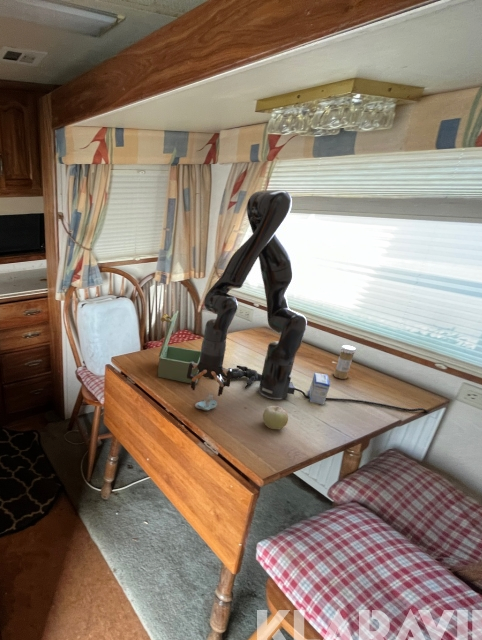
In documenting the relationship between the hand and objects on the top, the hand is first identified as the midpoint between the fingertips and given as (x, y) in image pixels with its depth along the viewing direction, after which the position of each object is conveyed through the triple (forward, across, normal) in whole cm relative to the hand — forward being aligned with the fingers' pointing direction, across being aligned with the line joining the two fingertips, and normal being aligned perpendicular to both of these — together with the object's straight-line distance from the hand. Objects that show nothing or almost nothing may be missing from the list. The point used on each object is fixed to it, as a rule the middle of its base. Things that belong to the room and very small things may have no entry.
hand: (206, 392), depth 126 cm
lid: (-11, -19, +22) cm, 31 cm away
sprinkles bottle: (+6, +48, +46) cm, 67 cm away
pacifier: (+7, 0, 0) cm, 7 cm away
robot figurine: (+6, +9, +27) cm, 29 cm away
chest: (+6, -13, +22) cm, 26 cm away
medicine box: (+6, +37, +23) cm, 44 cm away
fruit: (+6, +22, -2) cm, 23 cm away
